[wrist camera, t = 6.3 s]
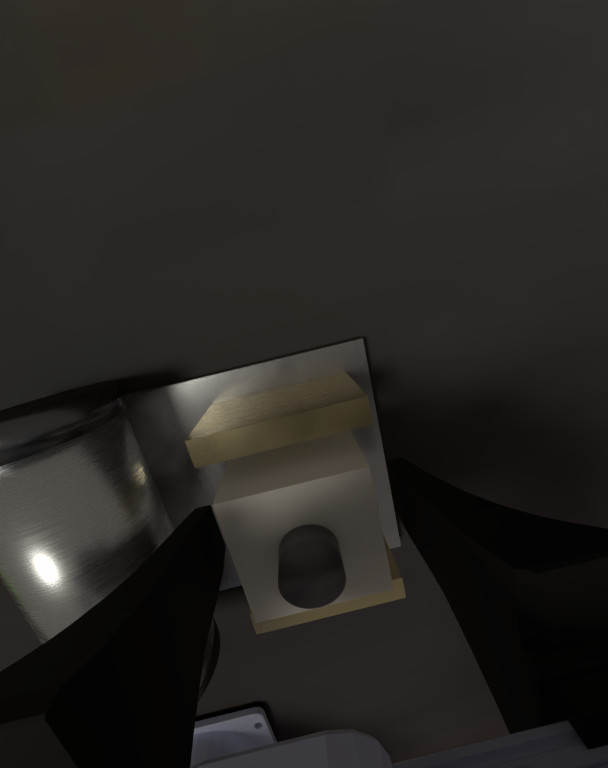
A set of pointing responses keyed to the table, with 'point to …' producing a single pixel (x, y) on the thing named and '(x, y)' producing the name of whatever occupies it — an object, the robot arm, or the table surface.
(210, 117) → the table surface
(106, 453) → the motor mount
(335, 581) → the light grey block
